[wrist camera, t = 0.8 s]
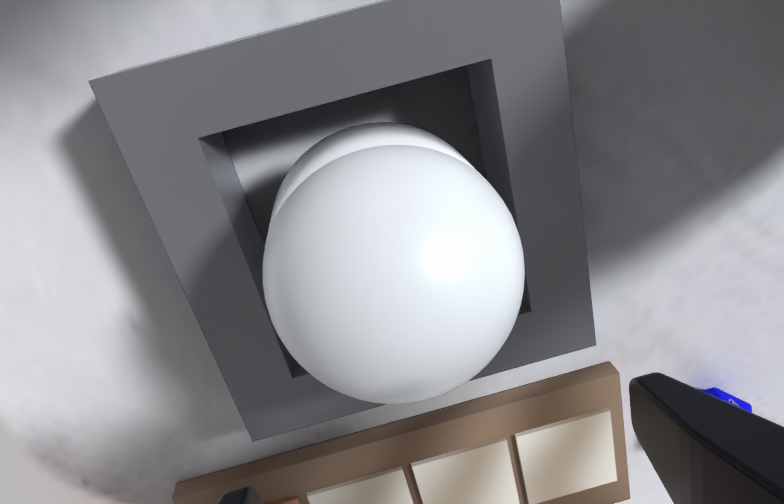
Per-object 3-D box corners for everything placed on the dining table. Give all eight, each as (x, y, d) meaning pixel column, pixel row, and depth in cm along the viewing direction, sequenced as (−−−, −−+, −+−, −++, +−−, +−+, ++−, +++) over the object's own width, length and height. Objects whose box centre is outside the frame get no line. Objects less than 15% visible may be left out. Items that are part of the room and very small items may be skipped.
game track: (609, 361, 23) (621, 375, 22) (621, 484, 26) (632, 502, 25) (176, 483, 23) (171, 502, 22) (238, 594, 26) (235, 616, 25)
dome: (462, 93, 16) (549, 143, 10) (498, 288, 18) (584, 418, 13) (240, 153, 16) (196, 239, 10) (309, 341, 18) (306, 497, 12)
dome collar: (515, -36, 17) (555, -44, 14) (560, 302, 22) (596, 345, 19) (125, 69, 17) (88, 81, 14) (260, 386, 22) (253, 441, 19)
